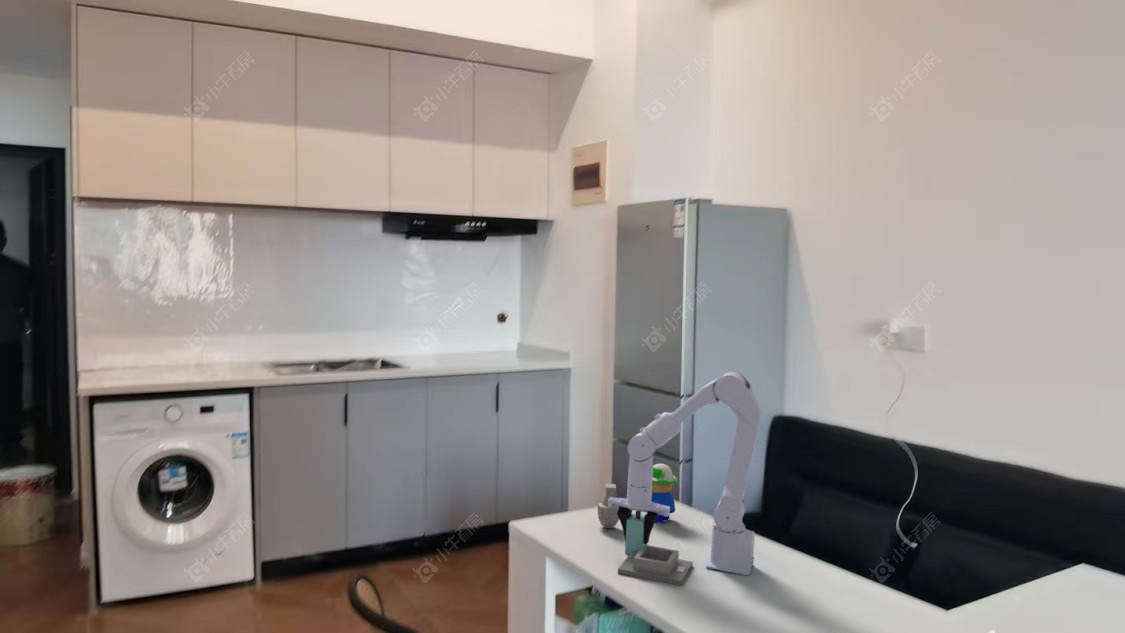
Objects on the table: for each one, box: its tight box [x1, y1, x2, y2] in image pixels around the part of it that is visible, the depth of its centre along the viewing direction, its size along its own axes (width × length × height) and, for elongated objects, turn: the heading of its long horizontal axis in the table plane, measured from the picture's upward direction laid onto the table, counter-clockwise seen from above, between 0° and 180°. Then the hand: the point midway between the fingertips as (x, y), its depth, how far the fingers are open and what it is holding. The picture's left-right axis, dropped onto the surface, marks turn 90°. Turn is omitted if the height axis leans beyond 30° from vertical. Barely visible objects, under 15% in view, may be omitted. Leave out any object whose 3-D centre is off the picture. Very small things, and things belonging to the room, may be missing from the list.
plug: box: [624, 511, 648, 555], centre depth 183 cm, size 4×5×10 cm
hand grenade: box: [597, 483, 620, 529], centre depth 198 cm, size 6×6×11 cm
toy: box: [651, 463, 678, 523], centre depth 207 cm, size 9×9×15 cm
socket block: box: [617, 544, 694, 586], centre depth 172 cm, size 14×12×4 cm
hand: (636, 541), depth 183 cm, fingers closed on plug, 4 cm apart
